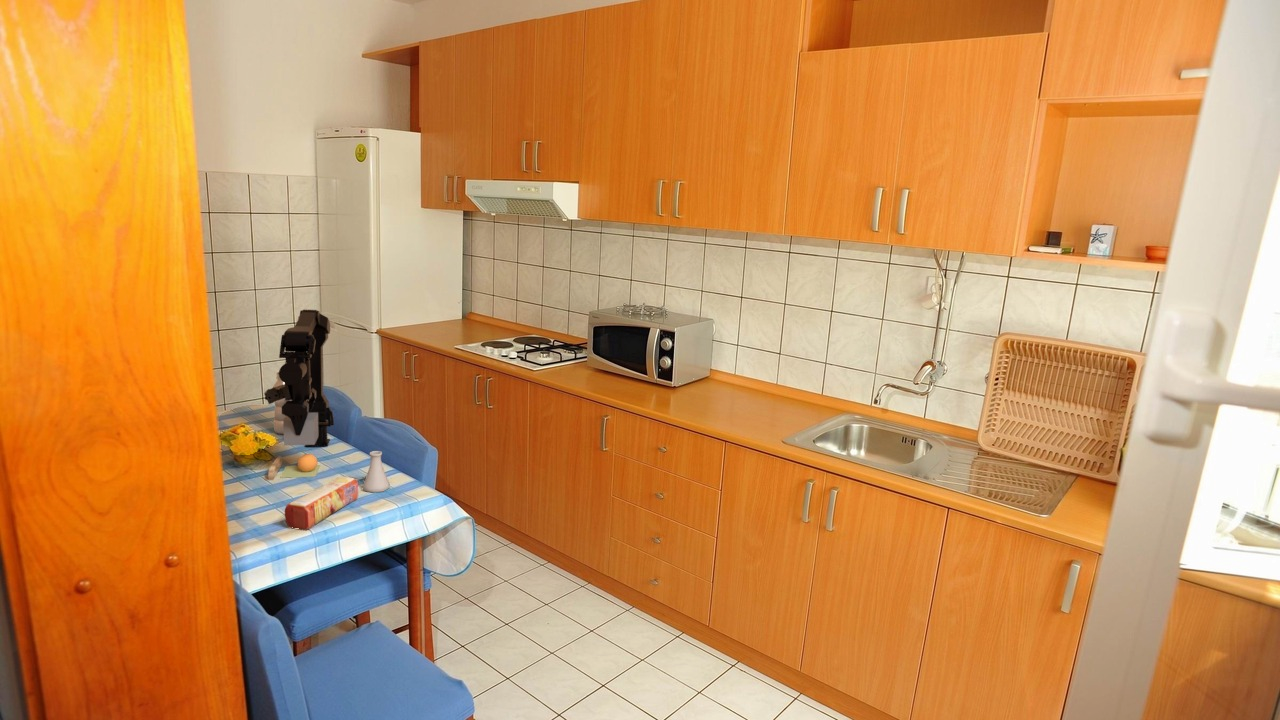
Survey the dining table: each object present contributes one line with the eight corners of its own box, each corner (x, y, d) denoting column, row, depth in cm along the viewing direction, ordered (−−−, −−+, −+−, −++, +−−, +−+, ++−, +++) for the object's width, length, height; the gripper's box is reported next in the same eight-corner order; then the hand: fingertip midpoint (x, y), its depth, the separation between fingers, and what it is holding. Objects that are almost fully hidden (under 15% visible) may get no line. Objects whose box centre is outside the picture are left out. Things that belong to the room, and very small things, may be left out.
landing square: (286, 466, 208) (286, 466, 208) (320, 465, 211) (320, 464, 211) (280, 477, 200) (280, 477, 200) (315, 476, 202) (315, 475, 202)
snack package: (338, 496, 190) (337, 472, 189) (361, 500, 189) (361, 475, 188) (283, 529, 170) (282, 502, 168) (308, 533, 168) (308, 505, 167)
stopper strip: (277, 465, 209) (277, 456, 208) (281, 465, 209) (281, 456, 209) (268, 480, 198) (268, 471, 197) (272, 480, 198) (272, 471, 197)
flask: (384, 494, 193) (384, 458, 191) (357, 492, 193) (356, 456, 191) (394, 484, 200) (394, 449, 198) (367, 482, 200) (367, 447, 198)
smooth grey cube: (288, 436, 206) (288, 412, 205) (318, 436, 208) (318, 412, 207) (284, 445, 199) (283, 420, 197) (314, 444, 201) (314, 420, 200)
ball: (307, 448, 207) (322, 458, 208) (295, 461, 206) (310, 471, 208) (304, 453, 202) (320, 464, 204) (292, 467, 202) (307, 477, 203)
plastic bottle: (269, 434, 235) (266, 374, 231) (282, 429, 241) (280, 369, 238) (287, 436, 234) (285, 376, 230) (300, 431, 240) (298, 371, 237)
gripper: (273, 368, 206) (275, 421, 209) (259, 384, 189) (261, 441, 192) (315, 368, 209) (317, 421, 212) (305, 383, 192) (307, 440, 195)
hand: (300, 430), depth 203 cm, fingers closed on smooth grey cube, 8 cm apart
